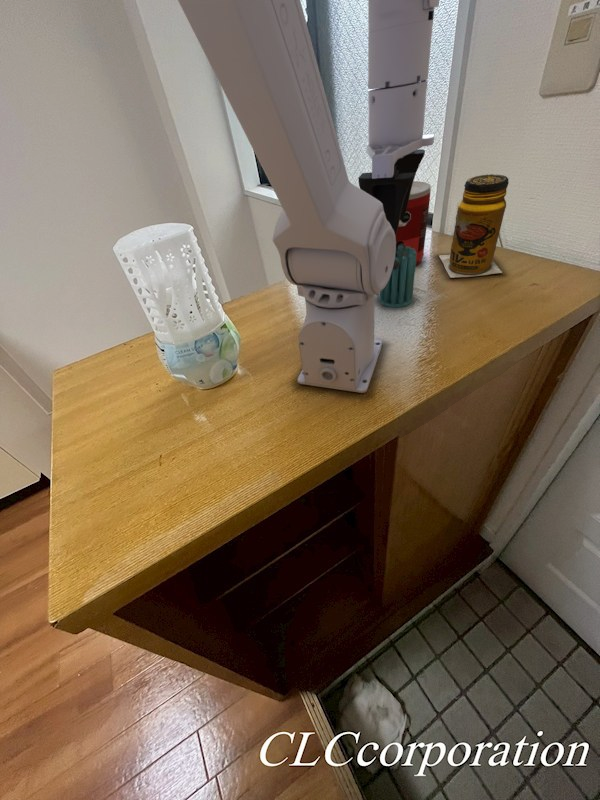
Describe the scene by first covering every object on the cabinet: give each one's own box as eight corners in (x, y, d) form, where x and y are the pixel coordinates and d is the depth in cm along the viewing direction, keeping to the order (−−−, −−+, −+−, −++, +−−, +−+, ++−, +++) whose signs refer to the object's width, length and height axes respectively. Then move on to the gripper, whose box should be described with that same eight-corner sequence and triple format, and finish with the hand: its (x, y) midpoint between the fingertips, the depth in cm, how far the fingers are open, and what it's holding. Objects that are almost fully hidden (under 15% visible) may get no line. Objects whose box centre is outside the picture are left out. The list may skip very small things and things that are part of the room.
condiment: (450, 279, 52) (466, 189, 43) (438, 256, 58) (450, 173, 49) (502, 274, 50) (528, 180, 42) (484, 251, 56) (504, 166, 48)
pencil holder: (408, 312, 47) (375, 310, 48) (415, 289, 51) (383, 288, 52) (413, 262, 42) (376, 261, 43) (420, 241, 46) (385, 242, 48)
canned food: (366, 261, 60) (365, 190, 53) (403, 248, 62) (408, 178, 54) (392, 275, 55) (396, 199, 47) (432, 261, 57) (442, 185, 49)
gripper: (433, 85, 28) (416, 252, 37) (445, 73, 37) (429, 209, 47) (349, 98, 30) (353, 252, 40) (380, 83, 40) (377, 211, 49)
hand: (390, 229), depth 43 cm, fingers open, 7 cm apart
